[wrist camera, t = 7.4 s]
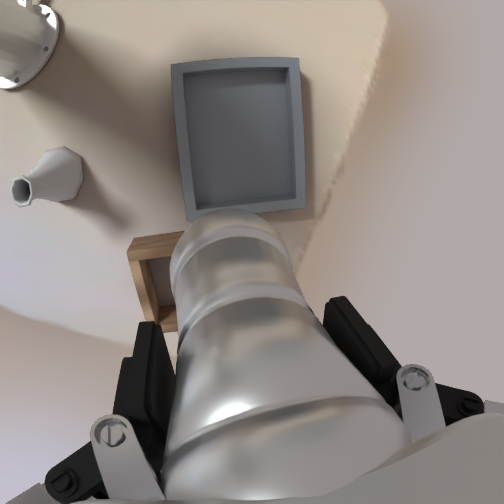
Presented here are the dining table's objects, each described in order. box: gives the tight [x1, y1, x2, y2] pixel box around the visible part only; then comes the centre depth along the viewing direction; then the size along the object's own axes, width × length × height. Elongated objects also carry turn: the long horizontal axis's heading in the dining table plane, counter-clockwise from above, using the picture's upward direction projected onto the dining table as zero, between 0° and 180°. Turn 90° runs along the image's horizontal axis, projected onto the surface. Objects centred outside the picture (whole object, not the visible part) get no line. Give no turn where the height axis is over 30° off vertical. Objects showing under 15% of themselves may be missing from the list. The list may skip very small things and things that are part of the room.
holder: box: [127, 231, 184, 333], centre depth 37 cm, size 12×11×4 cm
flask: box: [10, 147, 84, 207], centre depth 26 cm, size 7×7×10 cm
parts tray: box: [171, 57, 306, 222], centre depth 32 cm, size 18×14×3 cm
